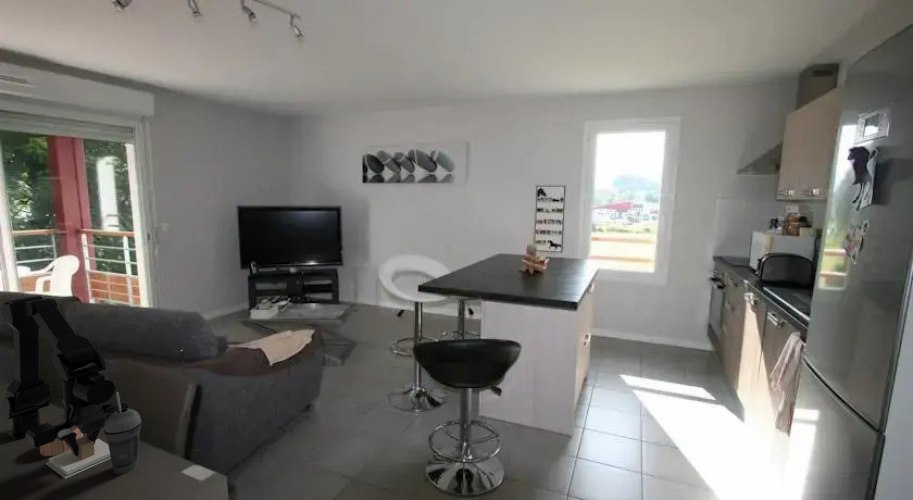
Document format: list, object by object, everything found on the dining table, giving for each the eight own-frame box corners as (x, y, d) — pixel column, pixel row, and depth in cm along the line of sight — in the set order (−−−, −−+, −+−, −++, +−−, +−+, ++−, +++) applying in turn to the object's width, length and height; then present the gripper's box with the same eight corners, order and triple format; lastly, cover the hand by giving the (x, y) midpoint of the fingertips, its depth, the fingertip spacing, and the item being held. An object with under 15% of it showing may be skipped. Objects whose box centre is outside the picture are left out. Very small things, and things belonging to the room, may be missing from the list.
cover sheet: (49, 461, 101) (47, 445, 100) (98, 441, 110) (97, 426, 109) (67, 475, 96) (65, 458, 96) (117, 452, 105) (116, 437, 105)
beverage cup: (123, 481, 96) (118, 402, 94) (98, 476, 98) (92, 398, 95) (151, 462, 103) (147, 388, 101) (128, 458, 105) (123, 384, 102)
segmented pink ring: (35, 451, 106) (34, 433, 106) (75, 436, 113) (73, 419, 113) (48, 461, 102) (47, 442, 102) (88, 445, 110) (87, 427, 109)
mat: (45, 465, 101) (45, 463, 101) (100, 442, 111) (100, 441, 111) (65, 480, 96) (65, 478, 96) (120, 455, 106) (120, 453, 106)
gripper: (41, 420, 89) (47, 485, 91) (139, 387, 106) (142, 443, 108) (21, 407, 94) (27, 469, 96) (117, 377, 111) (121, 431, 113)
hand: (83, 452), depth 103 cm, fingers closed on cover sheet, 2 cm apart
